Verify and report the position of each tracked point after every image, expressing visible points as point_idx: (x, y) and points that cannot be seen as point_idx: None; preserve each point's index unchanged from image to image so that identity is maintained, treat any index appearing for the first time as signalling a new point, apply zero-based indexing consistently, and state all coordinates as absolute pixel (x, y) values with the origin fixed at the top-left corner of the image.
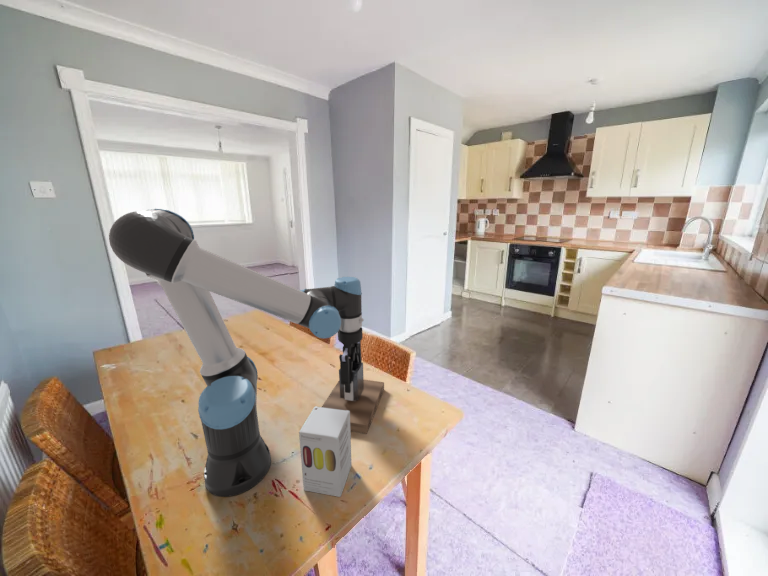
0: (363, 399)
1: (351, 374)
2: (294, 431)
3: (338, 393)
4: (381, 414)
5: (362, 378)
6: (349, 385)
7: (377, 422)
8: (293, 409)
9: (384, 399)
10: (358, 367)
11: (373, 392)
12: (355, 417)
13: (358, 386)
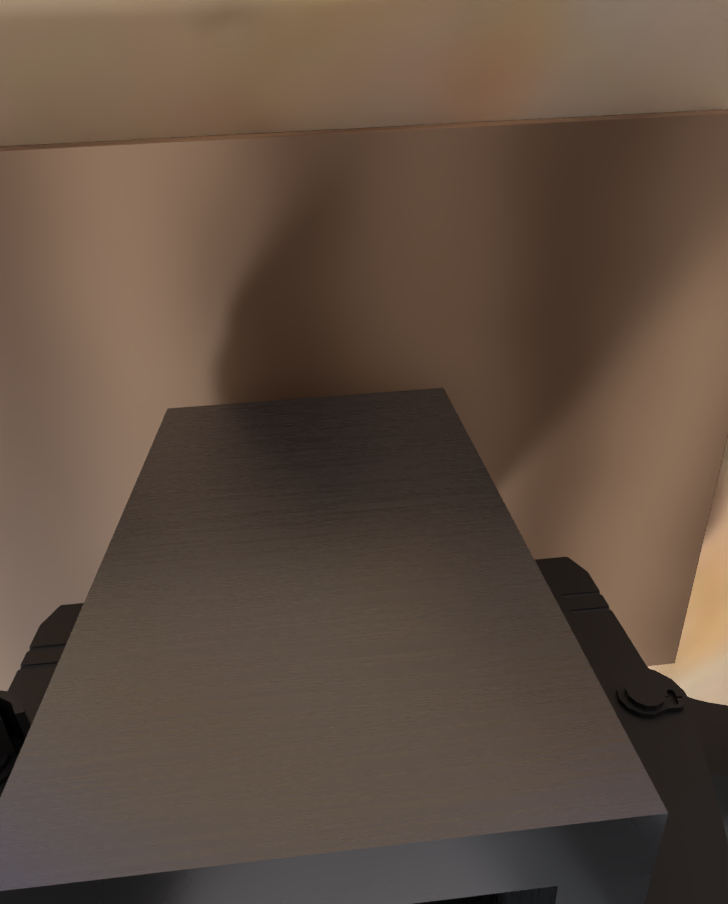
0: (301, 339)
1: (669, 861)
2: (708, 689)
3: None
4: (363, 22)
5: (183, 529)
6: (614, 655)
7: (522, 32)
8: None
9: (38, 76)
10: (344, 891)
11: (93, 255)
12: (665, 307)
13: (456, 499)
